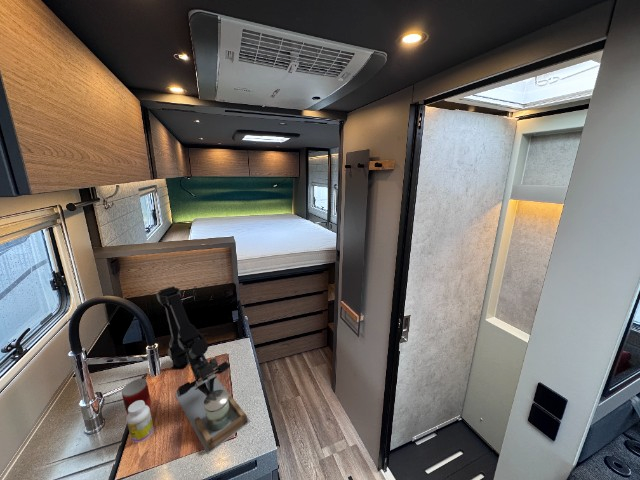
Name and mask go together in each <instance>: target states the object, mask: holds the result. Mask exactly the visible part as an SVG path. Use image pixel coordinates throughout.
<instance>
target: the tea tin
mask: <svg viewBox="0 0 640 480" xmlns="http://www.w3.org/2000/svg"><path fill="white" fill-rule="evenodd" d="M226 391H227V390H226ZM226 391H225V390H216V391H213V392H211V393H210V394H209V395H208V396H207V397H206V398H205V400H204V408H205V413H206V419H207V426H208V428H209V429H210V430H211V431H219V430H221V429H223V428H224V427H226V426H227V424H228V423H229V421H230V410H229V401H228V393H229V392H228V391H227V392H228V393H227V392H226Z"/></svg>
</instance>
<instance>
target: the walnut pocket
mask: <svg viewBox="0 0 640 480" xmlns="http://www.w3.org/2000/svg"><path fill="white" fill-rule="evenodd" d="M228 401H229V406H230V407H231V408H232V410H233V411H234V412H235V414H236V415H237V416H238V419H237V420H235V421H234V422H232V423H231V424H230V425H228V426H227V427H226V428H224V429H223V430H222V431H220V432H219V433H217V434H216V435H215V436H213V437H212V438H211V436H210V434H209V433H208V431H207V429H206V428H205V426H204V424H203V423H202V421H201V419H200V418H199V417H197V418H196V419H195V425H196V427H197V429H198V431H199V433H200V434H201V436H202V438H203V440H204V441H205V443H206V445H207V447H208V449H209V450H210V451H211V450H212V449H213V448H215V447H216V446H217V445H219V444H220V443H221V442H223V441H224V440H225V439H227V438H228V437H229V436H230V435H232V434H233V433H234V432H236V431H237V430H238V429H240V428H241V427H242V426H244V425H245V424H246V423H247V422H248V420H247V417H248V415H247V414H246V412H245V411H243V409H242V408H241V407H240V405H239V404H238V403H237V402H236V400H235V399H234V397H233V396H232V395H230V397H228ZM244 427H245V426H244ZM240 430H241V429H240ZM236 433H237V432H236ZM227 440H228V439H227ZM223 443H224V442H223Z"/></svg>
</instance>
